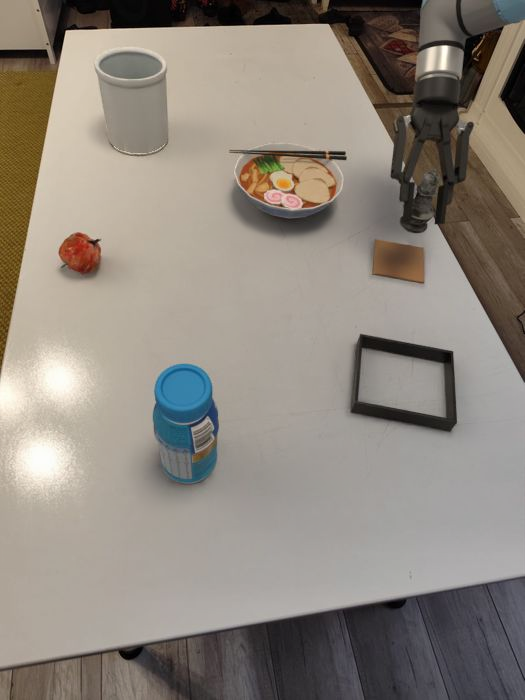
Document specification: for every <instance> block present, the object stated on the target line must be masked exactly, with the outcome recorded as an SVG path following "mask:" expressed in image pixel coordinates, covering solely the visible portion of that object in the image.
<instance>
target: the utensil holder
mask: <svg viewBox="0 0 525 700" xmlns="http://www.w3.org/2000/svg"><path fill="white" fill-rule="evenodd" d="M93 66H94V71H95V74H96V75H97V80H98V87H99V88H98V89H99V93H100V98H101V104H102V109H103V115H104V116H103V117H104V121H105V126H106V131H107V136H108V141H109V140H110V141H109V143H110V142H111V143H110V145H111V144H112V145H113V146H115V147H116V148H118V149H119V150H122V151H126V152H130V153H149V152H152V151H155V150H157V149H159V148H160V147H162V146H163V145H164V144H165V143H166V141H167V139H168V141H167V143H166V145H167V144H168V142H169V115H168V113H169V112H168V90H167V88H168V87H167V72H168V64H167V61H166V59H164V57H163V56H162V55H160V54H159V53H157V52H155V51H153V50H150V49H148V48H145V47H139V46H118V47H113V48H109V49H106V50H104V51H102V52H100V53H99V54H98V55H97V56H96V57H95V59H94V62H93ZM112 145H111V146H112ZM166 145H165V146H164V147H163V148H161V149H160V150H158V151H156V152H153V153H149V154H141V155H140V156H148V155H152V154H155V153H158V152H160V151H161V150H163V149H164V148H165V147H166ZM113 146H112V147H113ZM116 148H114V149H115V150H117V149H116ZM119 150H117V151H118V152H119V153H123V154H126V155H130V156H136V155H135V154H128V153H124V152H121V151H119Z"/></svg>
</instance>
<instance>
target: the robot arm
mask: <svg viewBox="0 0 525 700" xmlns="http://www.w3.org/2000/svg"><path fill="white" fill-rule="evenodd" d="M419 12H420V13H419V16H420V18H419V34H418V36H419V37H418V48H417V56H416V63H415V64H416V65H415V76H414V81H415V84H414V85H413V93H412V94H413V95H412V105H411V111H410V113H409V114H408V115H406V116H402V115H399V116H398V117H396V119H394V120H393V122H392V126H393V131H394V140H393V150H392V157H391V165H390V166H391V167H390V174H389V176H390V179H392V180H395V181H397V182H398V184H399V193H398V194H399V195H398V201H399V203H403V204H404V206H403V205H402V207H403V208H402V216H403V217H402V216H401V217H402V222H410V221H411V218H412V208H413V198H415V189H416V188H415V187H416V182H415V181H411V180H412V177H413V175H414V172H415V169H416V167H417V164H418V161H419V158H420V155H421V153H422V150H423V146H424V145H425V143H426V142H427V141H431V142H435V147H436V148H437V151H438V152H437V153H438V159H439V165H440V173H441V179H442V185H440V186H439V185H438V186H437V195H436V196H437V197H436V198H437V199H436V206H435V212H436V213H435V215H434V225H444V224H445V223H446V217H447V216H446V215H447V207H448V206H449V205H451V204H452V202H453V196H454V194H453V193H454V187H455V185H458V184H459V183H463V182H465V181H466V179H467V171H468V169H467V168H468V160H469V159H468V158H469V148H470V147H469V146H470V136H471V133H472V132H473V129H474V127H475V124H474V122H473V121H468V122H467V121H464V120H462V119H460V115H459V112H458V108H459V103H460V102H459V101H460V95H461V94H460V93H461V91H460V90H461V83H460V81H461V79H462V77H463V76H462V75H463V64H464V55H465V49H466V48H465V46H466V40H467V39H468V38H474V37H476V36H478V35H480V34H484V33H487V32H490V31H493V30H496V29H500V28H502V27H506V26H509V25H512V24H518V23H521V22H522V21H524V20H525V0H422V3H421V8H420V11H419ZM409 124H410V127H411V128H412V129H413V132H414V134H415V135H414V137H413V140H412V143H411V147H410V150H409V153H408V156H407V158H406V161H405V165H404V166H403V163H404V155H405V147H406V146H405V145H406V139H407V130H408V129H409ZM454 128H455V129H456V131H455V132H456V135H457V137H456V141H455V142H456V143H455V152H454V153H455V155H454V159H453V154H452V147H451V142H452V138H451V132H452V131H453V129H454ZM453 160H454V161H453Z"/></svg>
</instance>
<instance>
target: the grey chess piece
mask: <svg viewBox="0 0 525 700" xmlns="http://www.w3.org/2000/svg"><path fill="white" fill-rule="evenodd" d="M440 180H441V175H440V173H439V172H437V167H434V168H433V169H432V170H427V171H426V172H424V174H423V176H422V179H421V181H420V184H419V185H417V186H416V188H415V191H416V193H415V195H414V198H413V208H412V218H411V221H410V222H402V217H403V215H402V216H400V218H399V220H398V221H399V222H398V223H399V226H400V227H401V229H403V230H404V231H406V232H408V233H411V234H416V235H417V234H423V233H424V232H425V233H426V231H427V230H428V228H429V227H428V222H429V221H430V220H431V219H432V218H433V217H435V215H436V207H435V206H434V205H433V204H432V201H433V200H434V199H433V198H434V197H436V196H437V195H438V191H437V189H438V186H439V184H440ZM403 206H404V203H403V205H402V207H403Z"/></svg>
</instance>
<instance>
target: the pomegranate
mask: <svg viewBox="0 0 525 700" xmlns="http://www.w3.org/2000/svg"><path fill="white" fill-rule="evenodd" d="M101 241H102V238H96V239H93V238H91V237H90V236H89V235H88V234H86V233H82V232H80V231H77V232H73V233H72V234H70V235H69V236H68V237H66V238H64V240H63V242H61V244H60V245H59V248H58V257H59V258H60V260H61V261H62V262H63V263H64V264H63V265H62V266H60V268H61V269H63V268H65V267H66V266H67V268H68V269H69V270H71V271H72V272H77V273H79V274H81V275H86V274H89V273H91V272H93V271H95V270H96V269H97V268H98V266H99V265H100V264H101V260H102V254H101V253H102V247H101V245H100V244H99V242H101Z"/></svg>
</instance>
